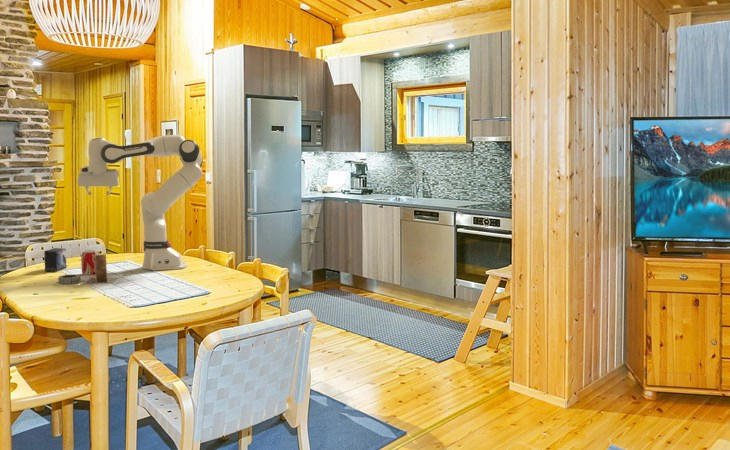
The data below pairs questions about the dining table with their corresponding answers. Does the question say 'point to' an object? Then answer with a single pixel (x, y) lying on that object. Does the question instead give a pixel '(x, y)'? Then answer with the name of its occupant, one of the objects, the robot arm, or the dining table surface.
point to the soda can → (88, 262)
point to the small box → (55, 259)
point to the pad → (94, 281)
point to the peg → (101, 268)
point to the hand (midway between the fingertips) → (99, 194)
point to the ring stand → (69, 280)
